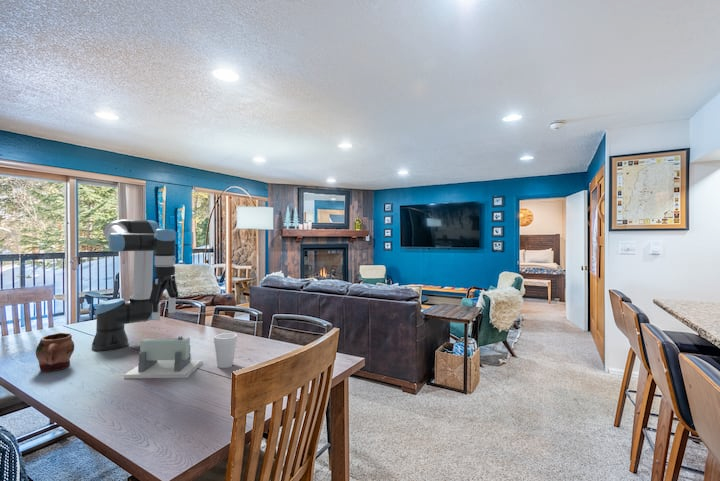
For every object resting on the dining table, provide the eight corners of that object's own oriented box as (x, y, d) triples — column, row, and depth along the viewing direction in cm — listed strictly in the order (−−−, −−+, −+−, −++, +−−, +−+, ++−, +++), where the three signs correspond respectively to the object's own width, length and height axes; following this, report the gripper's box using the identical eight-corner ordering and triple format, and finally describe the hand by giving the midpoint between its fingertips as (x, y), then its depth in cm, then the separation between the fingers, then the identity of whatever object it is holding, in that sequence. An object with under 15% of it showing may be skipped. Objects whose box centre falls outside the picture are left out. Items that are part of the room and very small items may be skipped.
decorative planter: (72, 373, 142) (72, 339, 142) (31, 380, 135) (31, 344, 135) (75, 359, 158) (76, 328, 158) (39, 364, 151) (39, 332, 151)
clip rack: (146, 363, 154) (146, 343, 154) (202, 363, 155) (202, 343, 155) (124, 378, 138) (124, 355, 138) (186, 377, 139) (187, 355, 139)
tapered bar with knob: (145, 357, 148) (145, 336, 148) (189, 356, 149) (189, 335, 149) (140, 360, 144) (140, 338, 144) (185, 359, 145) (185, 338, 145)
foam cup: (241, 363, 156) (241, 334, 156) (226, 370, 147) (227, 339, 147) (223, 360, 159) (224, 332, 159) (208, 367, 150) (209, 337, 150)
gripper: (159, 268, 135) (158, 323, 135) (186, 263, 160) (186, 309, 160) (139, 268, 134) (138, 323, 134) (169, 263, 159) (169, 309, 159)
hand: (164, 316), depth 147 cm, fingers open, 13 cm apart
